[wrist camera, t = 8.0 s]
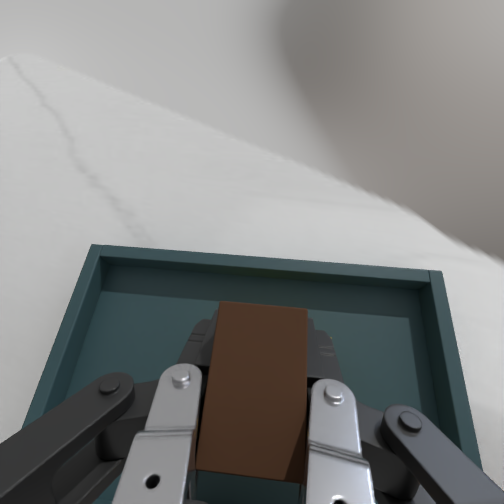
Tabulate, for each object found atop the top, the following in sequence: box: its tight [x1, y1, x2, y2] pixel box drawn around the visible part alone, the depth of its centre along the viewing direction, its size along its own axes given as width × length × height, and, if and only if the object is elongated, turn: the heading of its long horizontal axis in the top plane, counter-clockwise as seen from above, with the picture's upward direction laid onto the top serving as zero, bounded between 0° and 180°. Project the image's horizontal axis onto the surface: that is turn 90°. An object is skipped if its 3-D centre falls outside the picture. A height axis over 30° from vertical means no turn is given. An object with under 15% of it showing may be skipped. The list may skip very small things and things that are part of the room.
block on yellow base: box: [195, 301, 332, 484], centre depth 12 cm, size 7×5×8 cm
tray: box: [21, 244, 483, 504], centre depth 15 cm, size 22×14×2 cm, turn 85°
